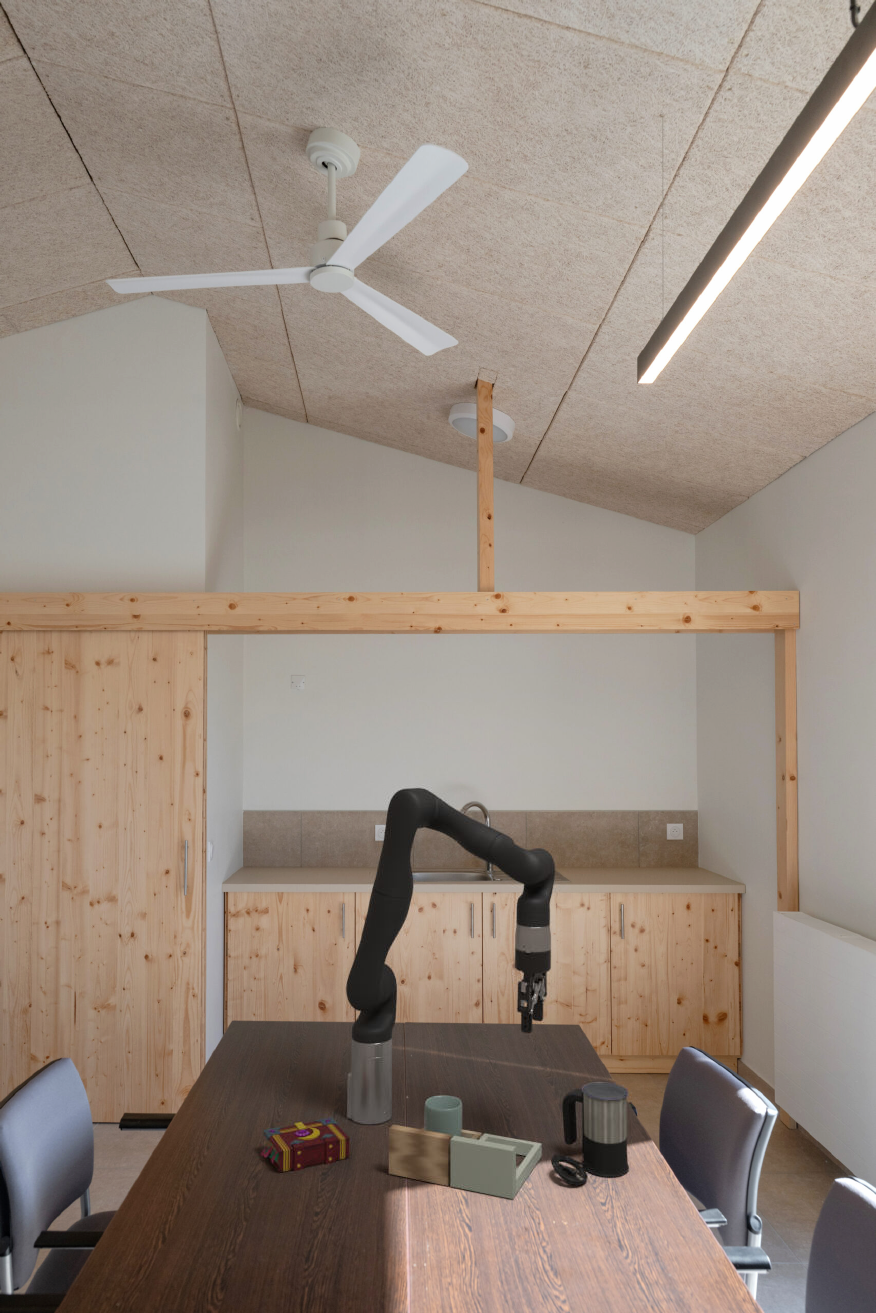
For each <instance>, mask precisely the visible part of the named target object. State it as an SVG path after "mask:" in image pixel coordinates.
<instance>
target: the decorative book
mask: <svg viewBox="0 0 876 1313" xmlns="http://www.w3.org/2000/svg"><path fill="white" fill-rule="evenodd" d="M262 1131H263V1132H262V1134H263V1136H264V1137H265V1138H266V1146H264V1147H262V1151H261V1152H260V1155H261V1157H264V1158H267V1159H269V1160H270V1161H271V1163H272V1164H273V1166H274V1168H276V1171H278V1173H283V1172H288V1171H292V1170H293V1171H294V1172H296V1170H297V1171H300V1170H301V1169H302V1170H304V1169H305V1168H307V1167H311V1166H316V1165H320V1164H325V1165H329V1164H333V1163H336V1161H340V1160H344V1159H349V1158H350V1137H349V1136H348V1135H347V1134H346V1132H345V1131H344V1129H342V1128H341V1127H340V1126H339V1124H338V1122H337V1121H336V1120H335V1119H334V1117H332V1116H331V1117H325V1118H321V1119H316V1120H315V1119H314V1121H311V1122H305V1123H303V1122H302V1121H300V1122H294V1125H290V1126H289V1125H288V1126H285V1127H282V1126H278V1127H274V1128H268V1129H263V1130H262Z"/></svg>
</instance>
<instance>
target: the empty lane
mask: <svg viewBox="0 0 876 1313" xmlns="http://www.w3.org/2000/svg"><path fill="white" fill-rule="evenodd" d="M542 1147H543V1144H542V1143H541V1142H535V1141H529V1140H525V1139H517V1138H512V1137H509V1136H508V1137H506V1136H501V1135H496V1134H491V1133H483V1134H482V1137H481V1138H480V1139H479V1140H476V1139H470V1138H465V1137H459V1136H454V1137H453V1138H452V1139H451V1182H450V1183H449V1185H450V1186H449V1187H453V1188H457V1189H462V1190H467V1191H471V1192H477V1193H481V1194H487V1195H491V1196H496V1197H499V1198H506V1199H511V1200H514V1198H515V1196H516V1195H517V1194H518V1193H519V1191H520V1189H521V1188H522V1186H523V1185H524V1184H525V1182H526V1180H527V1179H528V1177H529V1176H530V1175H531V1173H532V1171H533V1169H534V1168H535V1167H536V1165H537V1164H538V1162H539V1161H540V1159H542V1156H543V1149H542ZM517 1155H521V1156H525V1157H524V1159H523V1160H522V1162H521V1163H520V1164H519V1166H518V1167H517Z"/></svg>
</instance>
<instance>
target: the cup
mask: <svg viewBox="0 0 876 1313" xmlns="http://www.w3.org/2000/svg"><path fill="white" fill-rule="evenodd" d="M424 1126H425V1130H426V1131H432V1132H437V1133H443V1134H448V1135H452V1138H453V1137H454V1136H459V1137H461V1136H462V1130H463V1102H462V1100H461V1098H459V1097H457V1096H452V1095H447V1094H445V1095H441V1094H439V1095H434V1096H431V1097H428V1098H427V1099H426V1100H425V1101H424Z"/></svg>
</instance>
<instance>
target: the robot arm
mask: <svg viewBox="0 0 876 1313" xmlns="http://www.w3.org/2000/svg"><path fill="white" fill-rule="evenodd" d="M385 820H386V821H385V828H384V835H383V836H384V837H383V843H382V847H381V853H380V855H379V861H378V865H377V869H376V875H375V878H374V882H373V885H372V889H371V893H370V897H369V902H368V908H367V913H366V917H365V920H364V924H363V927H362V932H361V937H360V940H359V944H358V947H357V951H356V952H355V957H354V959H353V962H352V966H351V968H350V971H349V974H348V977H347V981H346V987H345V992H346V998H347V1001H348V1002H349V1004H350V1006H351V1007H352V1008H353V1009H354V1010H356V1011H358V1012H359V1015H358V1017H357V1018H356V1019H355V1021H354V1023H353V1024H352V1028H351V1062H350V1063H351V1067H350V1068H351V1070H350V1072H349V1073H348V1074H347V1084H346V1085H347V1087H346V1088H347V1090H346V1093H347V1099H346V1102H347V1103H346V1118H347V1119H350V1120H352V1121H353V1122H354V1123H357V1124H362V1125H378V1124H382V1123H385V1122H387V1121H389V1120H390V1119H391V1118H392V1108H393V1107H392V1102H393V1101H392V1096H393V1092H392V1091H393V1088H392V1082H393V1079H392V1078H393V1076H392V1075H393V1067H392V1066H393V1064H392V1063H393V1029H394V1027H395V1024H396V1018H397V1002H398V998H397V997H398V984H397V978H396V974H395V972H394V971H393V970H392V968H391V967H390V966H389V965H388V964H386V960H387V957H388V954H389V951H390V949H391V947H392V945H393V944H394V941H395V940H396V938H397V937H398V935H399V933H400V932H401V929H402V928H403V926H404V924H405V922H406V920H407V917H408V914H409V912H410V911H409V910H410V906H411V902H412V899H413V893H414V876H413V870H412V868H413V867H412V862H411V855H412V848H413V846H414V845H413V844H414V840H415V837H416V833H417V831H418V829H423V828H425V829H428V830H432V831H436V832H439V833H441V834H444V835H446V836H448V837H449V838H451V839H452V840H454V841H455V843H457V844H458V845H460V846H461V848H463V849H464V851H467V852H468V853H470V854H471V855H473V856H475V857H477V858H479V859H480V860H483V861H484V862H487V863H488V864H490V865H493V866H495V867H497V868H498V869H499V870H500V871H501V872H503V873H504V874H505V875H507V876H508V877H509V878H511V879H512V880H513V881H516V882H518V883H520V884H523V891H522V893H521V895H520V896H519V897H518V899H517V902H516V920H515V921H516V922H515V923H516V925H515V934H514V968H515V969H516V970H517V971H519V972H522V973H523V974H522V977H523V978H522V979H521V981H519V980H518V982H517V1001H516V1002H517V1007H516V1010H517V1011H516V1012H517V1013H520V1014H521V1015H520V1030H521V1033H524V1034H531V1033H532V1032H533V1021H537V1022H542V1021H543V1020H544V1003H545V1000H546V997H547V995H548V987H547V986H548V982H547V981H548V980H547V977H548V976H547V975H548V972H549V971H551V968H552V967H551V966H552V931H551V906H550V905H551V898H552V896H553V890H554V885H555V884H554V883H555V878H556V866H555V860H554V858H553V855H552V854H551V853H550V852H549V851H548V850H546V849H545V848H541V847H540V848H531V849H525V848H524V847H521V846H519V845H517V844H515V841H514V840H513V838H511V836H509V835H507V834H505V833H503V832H501V831H499V830H497V829H495V828H492V827H491V826H488V825H486V824H484V823H482V822H480V821H478V820H476V819H473V818H472V817H470V816H468V815H466V814H465V813H463V812H460V811H459V810H457V809H456V808H454V807H453V806H451V805H450V804H448V803H447V802H446V801H444V800H443V799H442V798H440V797H439V796H437V795H436V794H435V793H433V792H431V791H430V790H428V789H426V788H422V787H413V788H412V787H411V788H403V789H400V790H399V789H398V791H396V792H395V793H394V794H393V796H392V797H391V799H390V802H389V804H388V808H387V812H386V819H385ZM525 1004H526V1006H525Z"/></svg>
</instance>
